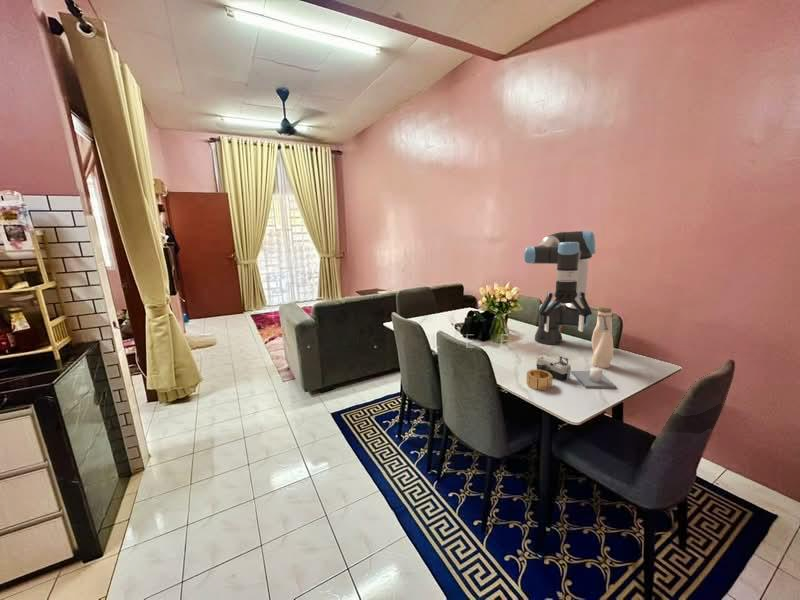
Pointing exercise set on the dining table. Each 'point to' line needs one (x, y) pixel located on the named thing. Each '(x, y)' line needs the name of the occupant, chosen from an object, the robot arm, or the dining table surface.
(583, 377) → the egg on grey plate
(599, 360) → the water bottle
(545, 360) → the camera
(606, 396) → the dining table surface
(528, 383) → the ring
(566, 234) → the robot arm
